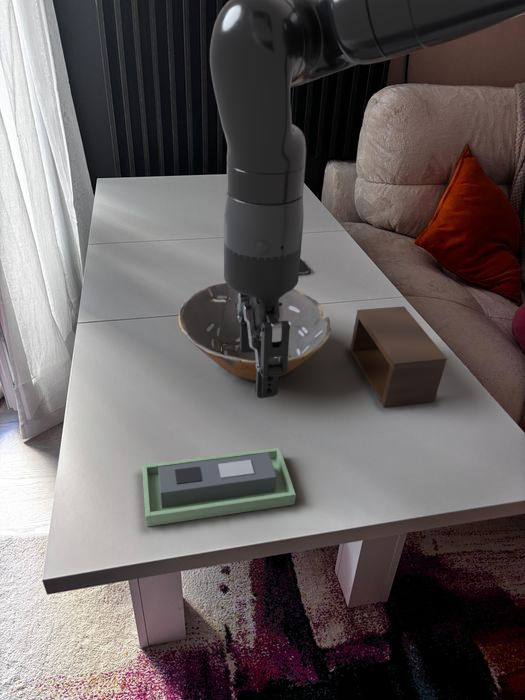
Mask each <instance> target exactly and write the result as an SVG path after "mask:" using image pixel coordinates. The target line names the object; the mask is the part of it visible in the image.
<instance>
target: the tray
mask: <svg viewBox="0 0 525 700" xmlns="http://www.w3.org/2000/svg"><path fill="white" fill-rule="evenodd" d="M263 453H269V454H270V457H271V461H272V464H273V467H274V470H275V473H276V476H277V478H276V488H275V492H270V493H263V494H256V495H249V496H242V497H236V498H229V499H222V500H215V501H208V502H201V503H194V504H187V505H180V506H173V507H167V508H162V505H161V495H160V485H159V473H158V467H163V466H170V465H178V464H186V463H194V462H201V461H209V460H217V459H224V458H232V457H240V456H248V455H255V454H263ZM141 468H142V470H141V471H142V482H143V485H142V486H143V498H144V499H143V500H144V501H143V502H144V515H145V525H146V527H153V526H159V525H161V526H162V525H165V524H166V525H167V524H172V523H179V522H181V523H182V522H186V521H187V522H188V521H195V520H200V519H207V518H213V517H214V518H215V517H219V516H227V515H232V514H233V515H234V514H239V513H240V514H241V513H247V512H253V511H260V510H268V509H274V508H280V507H286V506H294V505H295V503H296V496H297V495H296V491H295V488H294V485H293V482H292V480H291V477H290V473H289V471H288V468H287V464H286V461H285V460H284V456H283V453H282V450H281V447H272V448H265V449H258V450H257V449H256V450H250V451H242V452H241V451H240V452H233V453H226V454H224V453H223V454H217V455H210V456H200V457H195V458H186V459H178V460H170V461H161V462H153V463H147V464H141Z"/></svg>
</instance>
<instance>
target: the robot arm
mask: <svg viewBox="0 0 525 700" xmlns="http://www.w3.org/2000/svg"><path fill="white" fill-rule="evenodd" d="M522 15H525V0H228V1H227V2H226V4H224V6H223V7H222V8H221V9H220V11H219V13H218V15H217V17H216V19H215V22H214V25H213V28H212V33H211V38H210V45H209V64H210V65H209V66H210V75H211V81H212V86H213V91H214V96H215V101H216V105H217V109H218V114H219V119H220V124H221V127H222V130H223V134H224V137H225V141H226V148H227V150H226V196H225V205H224V211H223V212H224V213H223V279H224V281H225V282H224V283H227V285H228V286H229V287H230V288H231V289H233V290H234V291H236V300H235V307H236V310H237V311H238V320H239V323H242V324H240V344H239V345H240V349H241V351H242V352H243V353H247V352H255V357H256V369H257V370H256V381H255V393H256V396H257V398H259V399H264V398H265V399H266V398H273V397H275V396H277V394H278V387H279V386H278V385H279V377H278V376H280V375H282V376H287V375H288V373H287V371H288V368H287V365H288V347H289V330H290V324H289V322H288V321H282V318H283V316H284V312H283V305H282V302H279V298H280V297H281V296H283V295H284V294H286V293H287V292H289V291H291V290H292V289H293V288H294V289H295V288H296V286H297V285H298V283H299V278H300V274H299V267H300V259H301V256H302V255H301V253H302V241H303V229H304V217H305V216H304V215H305V214H304V194H303V193H304V187H305V174H306V161H307V142H306V137H305V134H304V132H303V130H301V129H300V127H299V126H297V125H296V124H294V123H293V121H292V106H291V89H293V88H296V87H299V86H301V85H304V84H307V83H310V82H313V81H315V80H319V79H321V78H324V77H327V76H330V75H333V74H335V73H338V72H341V71H344V70H346V69H350V68H351V67H354V66H357V65H370V64H375V63H376V64H377V63H381V62H385V61H388V60H392V59H396V58H400V57H402V56H406V55H410V54H413V53H416V52H421V51H423V50H427V49H430V48H433V47H437V46H441V45H443V44H446V43H449V42H452V41H457V40H459V39H462V38H464V37H467V36H470V35H473V34H476V33H478V32H481V31H484V30H487V29H489V28H492V27H495V26H497V25H499V24H502V23H505V22H508V21H510V20H513V19H515V18H517V17H520V16H522ZM260 335H261V338H260ZM271 357H274V358H272V359H269V358H271ZM280 377H281V376H280Z"/></svg>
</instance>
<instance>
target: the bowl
mask: <svg viewBox="0 0 525 700" xmlns="http://www.w3.org/2000/svg"><path fill="white" fill-rule="evenodd" d="M215 300H217V301H215ZM235 300H236V291H234V290H233V289H231V288H230V287H229V286H228V285H227V283H226V282H224V283H223V282H222V283H218V284H214V285H210V286H207V287H205V288H203V289H200V290H199V291H197V292H195V293H193V294H192V295H191V296H190V297H189V298H188V299H186V301H185V302H183V304H182V305H181V307H180V309H179V312H178V326H179V328H180V331H181V332H182V334H184V336H185V337H186V338H187V340H189V341H190V342H191V343H192V344H193V345H194V346H195V347H196V348H197V349H198V350H199V351H201V352H203V354H205V355H206V356H207V357H208V358H210V359H211V360H212V361H213V362H214V363H216V364H217V365H218V366H219V367H221V368H222V369H224V370H225V371H227V372H228V373H229V374H232V375H233V376H236V377H239V378H240V379H243V380H246V381H251V382H256V370H257V369H256V357H255V352H247V353H243V352H242V351H241V349H240V324H242V323H239V320H238V311H237V310H236V307H235ZM279 302H282V305H283V312H284V316H283V318H282V321H288V322H289V324H290V330H289V347H288V365H287V368H288V371H287V374H288V373H290V372H291V371H293V370H294V369H296V368H297V367H299V366H300V365H302V363H304V362H306V361H307V360H308V359H310V358H311V357H313V356H314V355H315V354H316V353H317V352H318V351H319V350H320V349H321V348H322V347H323V346H324V345H325V344H326V342H327V341H328V339H329V338H330V335H331V330H332V329H331V320H330V317H329V316H328V315H325V316H323V315H324V312H323V307H322V305H321V304H320V303H319V302H318V301H317V300H316V299H314V298H312V296H311V297H310V296H309V295H308V294H306V293H304V292H303V291H301V290H299V289H296V288H295V287H294V288H293V289H292V290H291V291H289V292H287V293H286V294H284V295H283V296H281V297H280V298H279ZM260 339H261V335H260ZM237 346H238V348H237V349H236V347H237ZM272 358H274V357H271V358H269V359H272ZM282 376H283V375H280V376H278V378H279V377H282Z"/></svg>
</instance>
